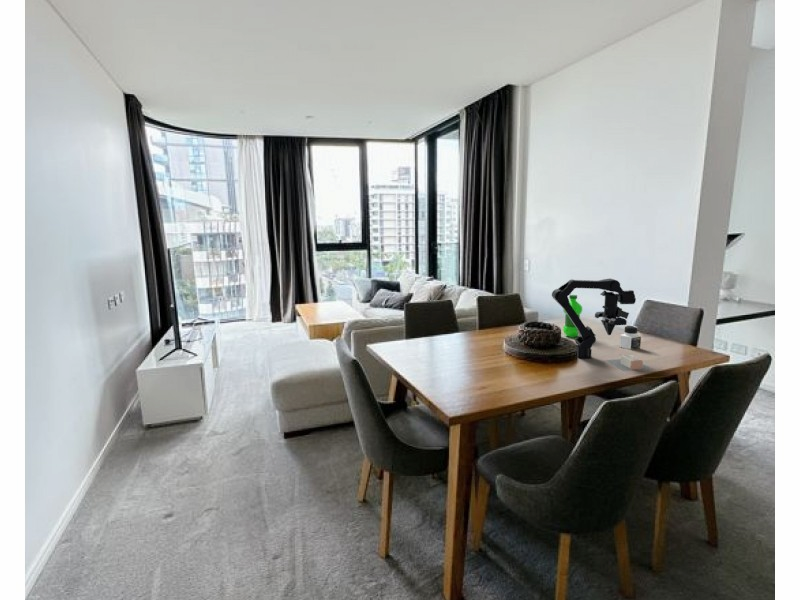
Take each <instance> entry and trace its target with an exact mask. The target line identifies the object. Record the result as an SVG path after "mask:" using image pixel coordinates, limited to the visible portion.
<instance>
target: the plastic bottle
mask: <svg viewBox="0 0 800 600" xmlns="http://www.w3.org/2000/svg"><path fill="white" fill-rule="evenodd" d="M568 299H569V302H570V305H571V306H572V308H573V309H574V311H575V312H576V314H577V315H578V317H579V318H580V315H581V314H582V313H583V305H581V304H580V303H579V302H578V301H577V299H578V295H577V294H570V295H568ZM562 310H563V313H564V314H565V319H564V322H565V323H564V326H563V328H562V329H563V330H562V332H563V333H564V335H566V336H567V337H568V336H569V338H576V337H577V336H579V334H578V331H577V328H576V327H575V325H574V324H573V322H572V321H571V319H570V318H569V316H568V315H567V313H566V312H565V311H564V309H563V308H562ZM580 319H581V318H580Z"/></svg>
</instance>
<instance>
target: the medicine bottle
mask: <svg viewBox="0 0 800 600" xmlns="http://www.w3.org/2000/svg"><path fill="white" fill-rule="evenodd" d="M638 328H639V327H637V326H635V325H625V326H624V333H622V334H620V335H619V336H620V337H619V348H621V347H622V349H628V350H635V349H639V348H640V349H641V342H642V336H641V335H639V334H638Z"/></svg>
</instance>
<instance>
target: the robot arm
mask: <svg viewBox="0 0 800 600" xmlns="http://www.w3.org/2000/svg"><path fill="white" fill-rule="evenodd" d="M575 289H593V290H595V289H596V290H603V291H602V292H601V293H600V296H603V297H604V305H602V308H603V311H596V312H595V314H594V318H595V319H599V318H601V319H600V322H601V324H602V325H603V327H604V329H605V332H606V333H607V335H608V336H611V335H612V333H613V331H614V329H615V327H616V326H628V325H627V323H628V321H627V319H628V317H629V314H630V312H628V311H625V310H623V308H621V307H620V306H618V304H619V305H635V303H636V300H637V299H636V295H635V291H634V290H631V289H629V290H624V289H622V287H621V283H620V281H619V280H616V279H614V278H604V279H600V280H589V279H588V280H587V279H586V280H583V279H582V280H581V279H569V280H568V281H567V282H565V283H564V284H562V285H560V287H558V288H556V289H554V290H552V292H551V298H552V299H553V300H555V303H558V305H559V306H560V307H562V310H563V309H564V311H565V312H566V313H567V315H568V316H569V318H570V319H571V321H572V322H573V324H574V325H575V327H576V328H577V331H578V334H579V335H578V337H577V338H575V340H574V342H575V344H576V345H575V351H576V350H577V357H576V358H577V359H579V360H590V359H592V347H593V345H594V344H595V342H596V341H597V338H596V336H597V334H595V333H594V331H593V329H592V328H591V327H590V326H588V325H587V326H586V325H585V324H584V322H582V320H581V318H579V317H578V315H577V314H576V312H575V311H574V309H573V308H572V306H571V305H570V302H569V301H570V298H569V295H572V292H573V291H574V290H575ZM564 311H563V312H564Z"/></svg>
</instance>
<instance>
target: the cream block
mask: <svg viewBox="0 0 800 600" xmlns="http://www.w3.org/2000/svg"><path fill="white" fill-rule="evenodd" d="M620 359H621V361H620V363H621V364H623V365H624V366H626V367H628V368H630V369H631V370H630V371H635V370H634V369H642V365H643V364H644V361H643V359H640V358H638V357H636V356H635V355H632V354H621V355H620Z"/></svg>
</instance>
